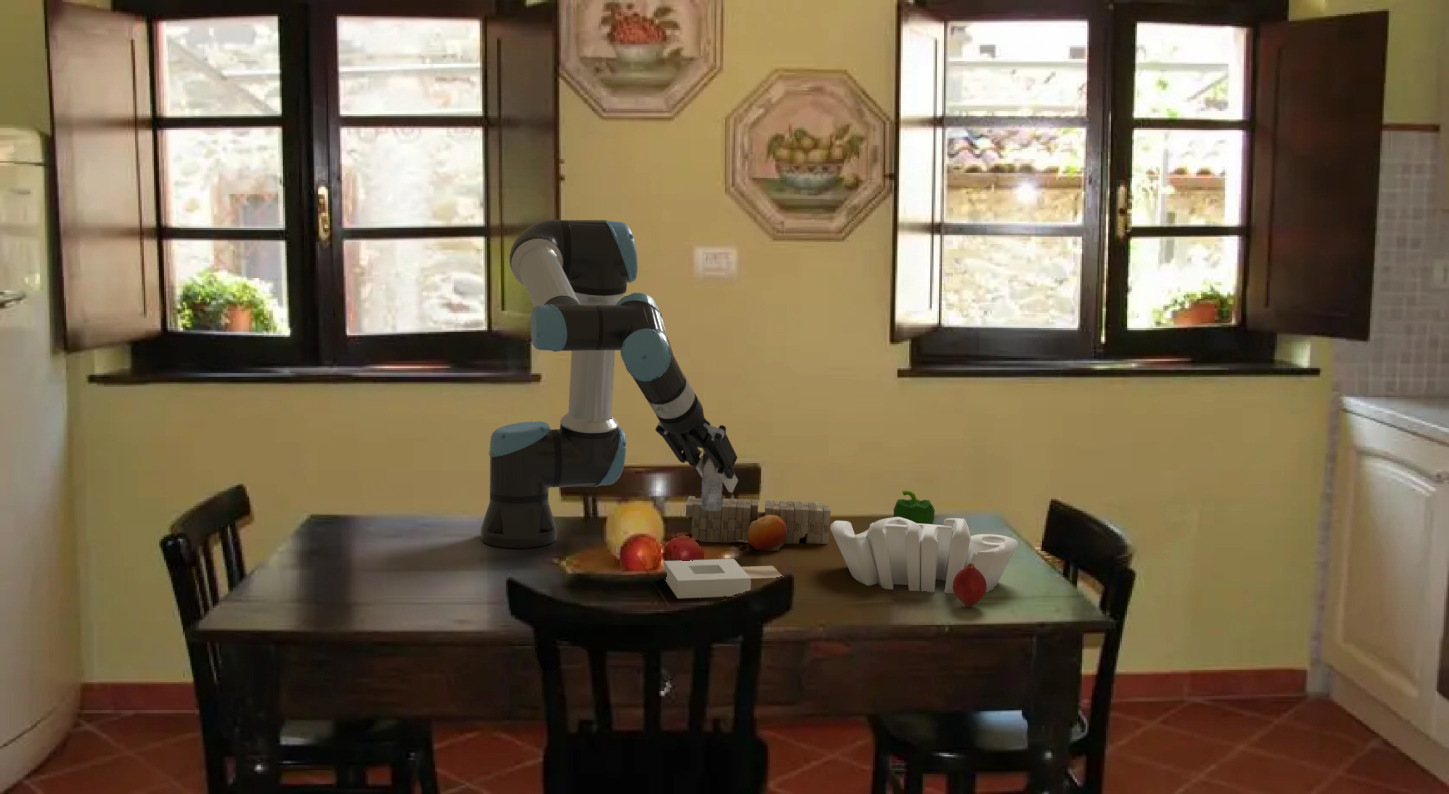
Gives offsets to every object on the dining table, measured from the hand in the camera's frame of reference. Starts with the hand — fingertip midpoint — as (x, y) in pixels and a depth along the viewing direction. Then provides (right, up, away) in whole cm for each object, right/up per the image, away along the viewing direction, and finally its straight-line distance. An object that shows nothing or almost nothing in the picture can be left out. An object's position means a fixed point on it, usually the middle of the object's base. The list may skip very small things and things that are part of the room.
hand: (723, 484), depth 249 cm
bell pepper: (+40, -14, +40) cm, 58 cm away
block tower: (+7, -14, +36) cm, 39 cm away
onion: (+43, -21, -8) cm, 48 cm away
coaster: (+6, -17, +9) cm, 20 cm away
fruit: (+9, -15, +28) cm, 33 cm away
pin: (-2, -4, -3) cm, 5 cm away
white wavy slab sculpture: (+37, -19, +9) cm, 42 cm away
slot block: (-3, -19, -1) cm, 19 cm away
